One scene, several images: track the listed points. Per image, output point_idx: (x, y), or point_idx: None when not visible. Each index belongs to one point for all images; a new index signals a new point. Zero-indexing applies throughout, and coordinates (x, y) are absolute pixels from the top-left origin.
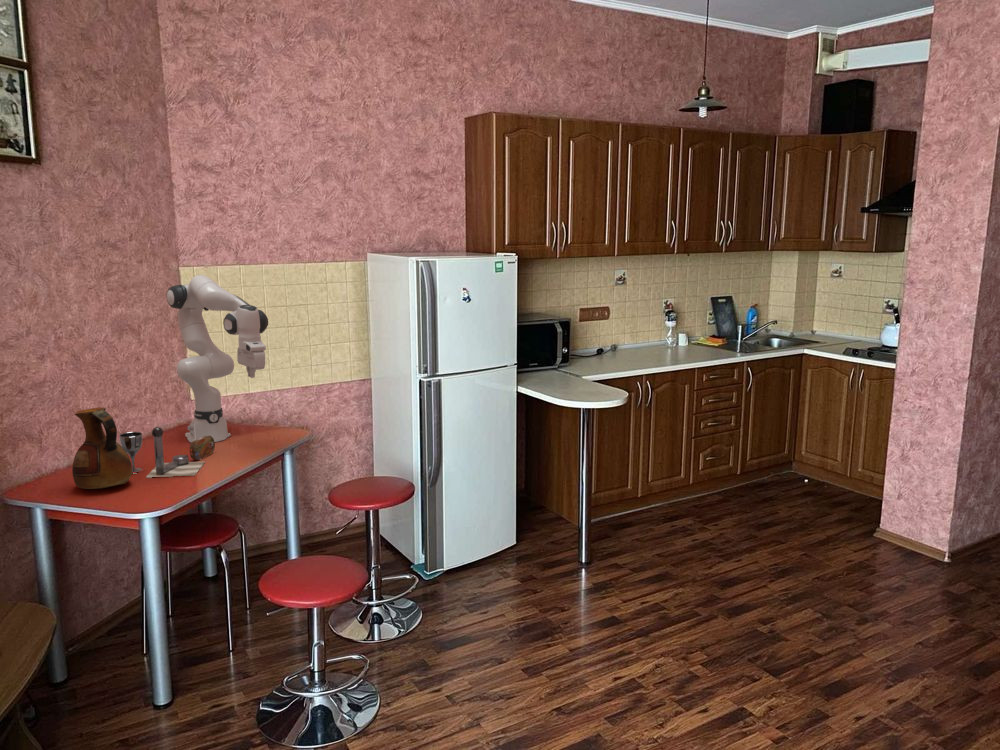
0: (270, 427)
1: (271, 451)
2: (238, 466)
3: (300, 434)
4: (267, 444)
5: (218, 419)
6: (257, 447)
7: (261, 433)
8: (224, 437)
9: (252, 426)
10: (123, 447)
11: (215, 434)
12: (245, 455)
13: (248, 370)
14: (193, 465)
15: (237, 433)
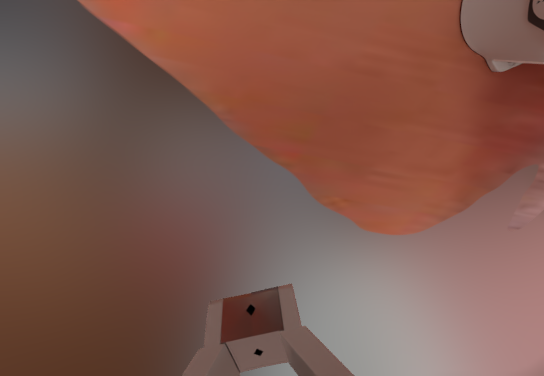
0: (486, 184)
1: (266, 145)
2: (138, 19)
3: (377, 229)
4: (339, 149)
5: (537, 23)
6: (325, 119)
7: (451, 155)
8: (474, 43)
9: (533, 147)
10: None
11: (486, 6)
12: (258, 69)
13: (303, 367)
14: None
15: (503, 96)
